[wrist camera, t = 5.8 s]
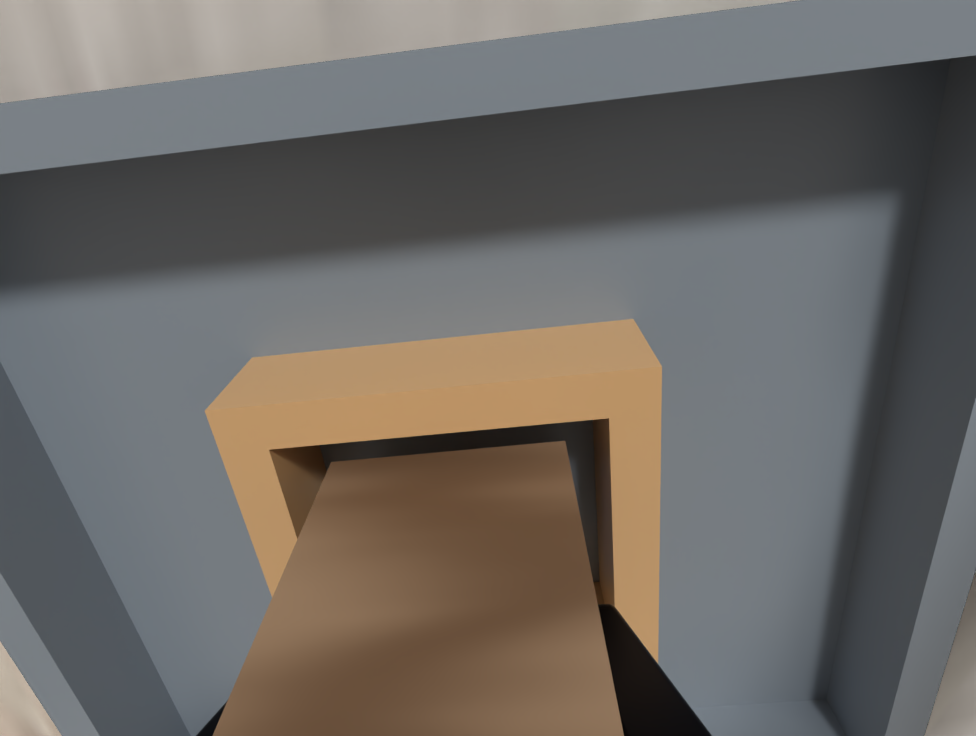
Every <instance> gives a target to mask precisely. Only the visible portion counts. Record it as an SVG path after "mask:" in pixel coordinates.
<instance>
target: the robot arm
mask: <svg viewBox="0 0 976 736" xmlns="http://www.w3.org/2000/svg"><path fill="white" fill-rule="evenodd" d="M598 608H599V613H600V618H601V623H602V628H603V633H604V638H605V643H606V648H607V653H608V658H609V663H610V668H611V673H612V678H613V683H614V688H615V693H616V698H617V703H618V708H619V713H620V718H621V723H622V728H623V733H624V736H712V735H711V734H710V732H709V731H708V730H707V728H706V727H705V726H704V724H703V723H702V722H701V720H700V719H699V718H698V716H697V715H696V714H695V712H694V711H693V710H692V708H691V707H690V706H689V704H688V703H687V702H686V700H685V699H684V698H683V696H682V695H681V694H680V692H679V691H678V690H677V688H676V687H675V686H674V684H673V683H672V682H671V680H670V679H669V678H668V676H667V675H666V674H665V672H664V671H663V670H662V668H661V667H660V666H659V664H658V663H657V662H656V660H655V659H654V658H653V656H652V655H651V654H650V653H649V651H648V650H647V649H646V647H645V646H644V645H643V643H642V642H641V641H640V639H639V638H638V637H637V635H636V634H635V633H634V631H633V630H632V629H631V627H630V626H629V625H628V623H627V622H626V621H625V619H624V618H623V617H622V615H621V614H620V613H619V611H618V610H617V609H616V608H615V607H614V606H613V605H611V604H599V605H598ZM227 701H228V700H227ZM226 703H227V702H226ZM226 703H225V704H224V705H223V706H222V707H221V708H220V709H219V710H218V712H217V713H216V714H215V715H214V716H213V717H212V718H211V719H210V720H209V722H208V723H207V724H206V725H205V726H204V727H203V728H202V729H201V730H200V732H199V733H198V734H197V735H196V736H213V733H214V731H215V729H216V726H217V724H218V722H219V719H220V717H221V715H222V713H223V710H224V708H225V706H226Z"/></svg>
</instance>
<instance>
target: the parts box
mask: <svg viewBox="0 0 976 736" xmlns="http://www.w3.org/2000/svg"><path fill="white" fill-rule="evenodd" d="M557 441H565V442H566V447H567V452H568V457H569V462H570V467H571V472H572V477H573V482H574V487H575V492H576V497H577V502H578V507H579V512H580V517H581V522H582V527H583V532H584V537H585V542H586V548H587V553H588V558H589V563H590V568H591V573H592V578H593V583H594V588H595V593H596V598H597V603H598V605H599V604H611V605H613V606H614V607H615V608H616V609H617V610H618V611H619V613H620V614H621V615H622V617H623V618H624V619H625V621H626V622H627V623H628V625H629V626H630V627H631V629H632V630H633V631H634V633H635V634H636V635H637V637H638V638H639V639H640V641H641V642H642V643H643V645H644V646H645V647H646V649H647V650H648V651H649V653H650V654H651V655H652V656H653V658H654V659H655V660H656V662H657V663H658V664H659V666H660V667H661V668H662V670H663V671H664V672H665V674H666V675H667V676H668V678H669V679H670V680H671V682H672V683H673V684H674V686H675V687H676V688H677V690H678V691H679V692H680V694H681V695H682V696H683V698H684V699H685V700H686V702H687V703H688V704H689V706H690V707H691V708H692V710H693V711H694V712H695V714H696V715H697V716H698V718H699V719H700V720H701V722H702V723H703V724H704V726H705V727H706V728H707V730H708V731H709V732H710V734H711V735H712V736H924V735H925V731H926V728H927V725H928V722H929V719H930V715H931V712H932V709H933V706H934V703H935V699H936V696H937V693H938V690H939V686H940V683H941V680H942V677H943V674H944V670H945V667H946V664H947V661H948V658H949V654H950V651H951V648H952V645H953V642H954V638H955V635H956V632H957V629H958V625H959V622H960V619H961V616H962V613H963V609H964V606H965V603H966V600H967V597H968V593H969V590H970V587H971V584H972V581H973V577H974V574H975V571H976V0H800V1H792V2H784V3H776V4H768V5H761V6H753V7H745V8H737V9H730V10H722V11H714V12H706V13H699V14H691V15H683V16H675V17H668V18H660V19H652V20H644V21H637V22H629V23H621V24H613V25H605V26H598V27H590V28H582V29H574V30H567V31H559V32H551V33H543V34H536V35H528V36H520V37H512V38H505V39H497V40H489V41H481V42H474V43H466V44H458V45H450V46H442V47H435V48H427V49H419V50H411V51H404V52H396V53H388V54H380V55H373V56H365V57H357V58H349V59H342V60H334V61H326V62H318V63H310V64H303V65H295V66H287V67H279V68H272V69H264V70H256V71H248V72H241V73H233V74H225V75H217V76H210V77H202V78H194V79H186V80H179V81H171V82H163V83H155V84H147V85H140V86H132V87H124V88H116V89H109V90H101V91H93V92H85V93H78V94H70V95H62V96H54V97H47V98H39V99H31V100H23V101H16V102H8V103H0V641H1V643H2V644H3V646H4V647H5V649H6V650H7V652H8V654H9V655H10V657H11V658H12V660H13V661H14V663H15V664H16V666H17V667H18V669H19V670H20V672H21V673H22V675H23V677H24V678H25V680H26V681H27V683H28V684H29V686H30V687H31V689H32V690H33V692H34V693H35V695H36V697H37V698H38V700H39V701H40V703H41V704H42V706H43V707H44V709H45V710H46V712H47V713H48V715H49V716H50V718H51V720H52V721H53V723H54V724H55V726H56V727H57V729H58V730H59V732H60V733H61V735H62V736H196V735H197V734H198V733H199V732H200V730H201V729H202V728H203V727H204V726H205V725H206V724H207V723H208V722H209V720H210V719H211V718H212V717H213V716H214V715H215V714H216V713H217V712H218V710H219V709H220V708H221V707H222V706H223V705H224V704H225V703H226V702H227V700H228V699H229V696H230V694H231V692H232V689H233V687H234V685H235V682H236V680H237V678H238V676H239V673H240V671H241V669H242V666H243V664H244V662H245V659H246V657H247V655H248V652H249V650H250V648H251V646H252V643H253V641H254V639H255V636H256V634H257V632H258V629H259V627H260V625H261V622H262V620H263V618H264V616H265V613H266V611H267V609H268V606H269V604H270V602H271V599H272V597H273V595H274V592H275V590H276V588H277V586H278V583H279V581H280V579H281V576H282V574H283V572H284V569H285V567H286V565H287V562H288V560H289V558H290V555H291V553H292V551H293V549H294V546H295V544H296V542H297V539H298V537H299V535H300V532H301V530H302V528H303V525H304V523H305V521H306V519H307V516H308V514H309V512H310V509H311V507H312V505H313V502H314V500H315V498H316V495H317V493H318V491H319V489H320V486H321V484H322V482H323V479H324V477H325V475H326V472H327V470H328V468H329V465H330V463H331V462H337V461H348V460H359V459H370V458H381V457H392V456H403V455H414V454H425V453H436V452H447V451H458V450H469V449H480V448H491V447H502V446H513V445H524V444H535V443H546V442H557Z"/></svg>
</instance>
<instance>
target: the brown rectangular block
mask: <svg viewBox="0 0 976 736" xmlns="http://www.w3.org/2000/svg"><path fill="white" fill-rule="evenodd" d="M213 736H624V733H623V728H622V723H621V718H620V713H619V708H618V703H617V698H616V693H615V688H614V683H613V678H612V673H611V668H610V663H609V658H608V653H607V648H606V643H605V638H604V633H603V628H602V623H601V618H600V613H599V608H598V603H597V598H596V593H595V588H594V583H593V578H592V573H591V568H590V563H589V558H588V553H587V548H586V542H585V537H584V532H583V527H582V522H581V517H580V512H579V507H578V502H577V497H576V492H575V487H574V482H573V477H572V472H571V467H570V462H569V457H568V452H567V447H566V442H565V441H557V442H546V443H535V444H524V445H513V446H502V447H491V448H480V449H469V450H458V451H447V452H436V453H425V454H414V455H403V456H392V457H381V458H370V459H359V460H348V461H337V462H331V463H330V465H329V468H328V470H327V472H326V475H325V477H324V479H323V482H322V484H321V486H320V489H319V491H318V493H317V495H316V498H315V500H314V502H313V505H312V507H311V509H310V512H309V514H308V516H307V519H306V521H305V523H304V525H303V528H302V530H301V532H300V535H299V537H298V539H297V542H296V544H295V546H294V549H293V551H292V553H291V555H290V558H289V560H288V562H287V565H286V567H285V569H284V572H283V574H282V576H281V579H280V581H279V583H278V586H277V588H276V590H275V592H274V595H273V597H272V599H271V602H270V604H269V606H268V609H267V611H266V613H265V616H264V618H263V620H262V622H261V625H260V627H259V629H258V632H257V634H256V636H255V639H254V641H253V643H252V646H251V648H250V650H249V652H248V655H247V657H246V659H245V662H244V664H243V666H242V669H241V671H240V673H239V676H238V678H237V680H236V682H235V685H234V687H233V689H232V692H231V694H230V696H229V699H228V701H227V703H226V706H225V708H224V710H223V713H222V715H221V717H220V719H219V722H218V724H217V726H216V729H215V731H214V733H213Z"/></svg>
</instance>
